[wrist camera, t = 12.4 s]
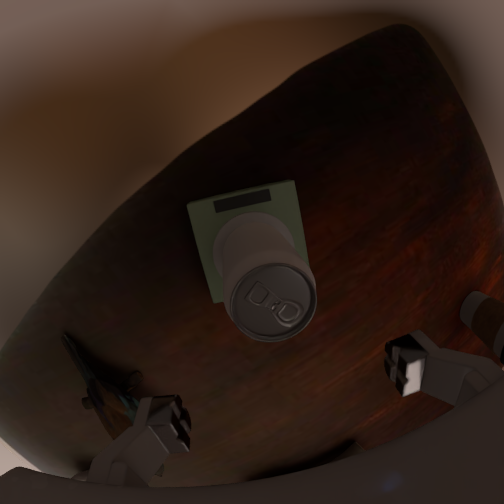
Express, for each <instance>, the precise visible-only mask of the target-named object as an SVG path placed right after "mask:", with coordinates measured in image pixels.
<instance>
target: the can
mask: <svg viewBox="0 0 504 504" xmlns="http://www.w3.org/2000/svg"><path fill="white" fill-rule="evenodd" d="M223 300H224V304H225V308H226V311H227V313H228V315H229V316H230V318H231V319H232V320H233V322H234V323H235V325H236V326H237V328H238V329H239V330H240V331H241V332H242V333H243V334H245V335H246V336H248V337H250V338H252V339H254V340H257V341H261V342H279V341H283V340H286V339H289V338H291V337H293V336H295V335H296V334H298V333H299V332H301V331H302V330H303V329H304V328H305V327H306V326H307V325H308V323H309V322H310V321H311V319H312V317H313V315H314V313H315V310H316V305H317V293H316V284H315V279H314V276H313V274H312V272H311V270H310V268H309V267H308V265H307V264H306V262H305V261H304V260H303V259H302V257H301V256H300V255H299V254H298V253H297V251H296V250H295V249H294V248H293V247H292V246H291V244H290V243H289V242H288V241H287V240H286V239H285V238H284V236H283V235H282V234H281V233H280V232H279V231H278V230H277V229H275V228H274V227H272V226H270V225H268V224H265V223H261V222H251V223H247V224H244V225H242V226H240V227H238V228H237V229H235V230H234V231H233V232H232V233H231V234H230V235H229V237H228V238H227V240H226V242H225V245H224V249H223Z"/></svg>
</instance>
